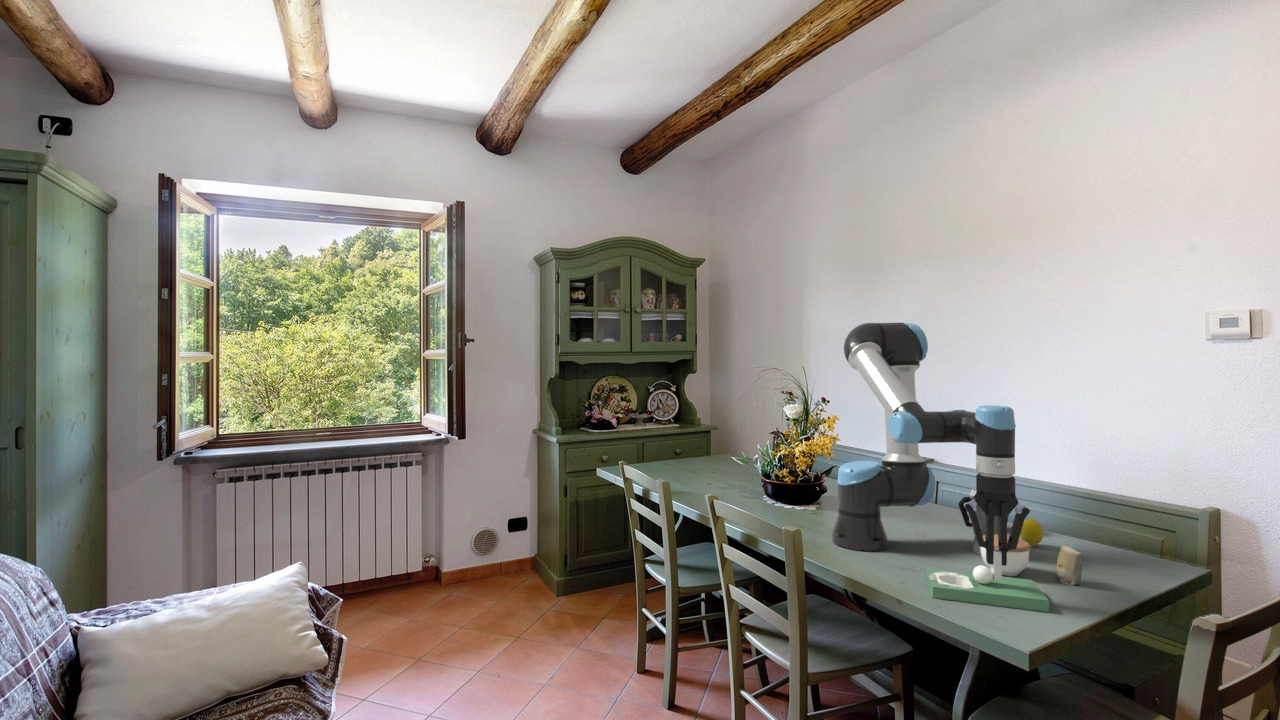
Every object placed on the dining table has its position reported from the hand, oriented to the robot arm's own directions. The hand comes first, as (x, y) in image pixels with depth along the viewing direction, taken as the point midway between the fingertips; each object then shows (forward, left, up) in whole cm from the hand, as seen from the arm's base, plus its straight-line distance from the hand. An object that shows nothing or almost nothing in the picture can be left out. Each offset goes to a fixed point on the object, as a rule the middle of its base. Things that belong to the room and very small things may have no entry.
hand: (996, 578), depth 130 cm
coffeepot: (+4, +32, -4) cm, 32 cm away
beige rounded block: (+18, +15, -4) cm, 24 cm away
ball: (-3, 0, +1) cm, 3 cm away
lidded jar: (+5, +18, -4) cm, 19 cm away
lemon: (+17, +43, -4) cm, 46 cm away
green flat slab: (-3, 0, -4) cm, 5 cm away
